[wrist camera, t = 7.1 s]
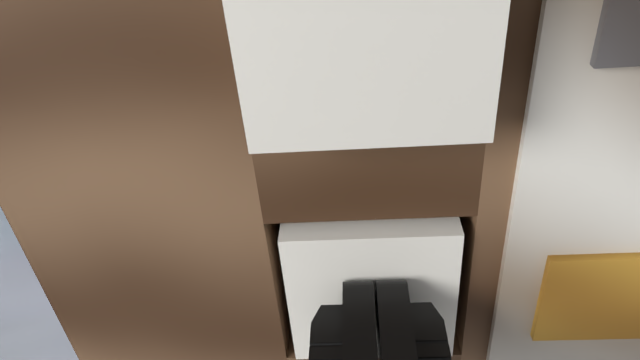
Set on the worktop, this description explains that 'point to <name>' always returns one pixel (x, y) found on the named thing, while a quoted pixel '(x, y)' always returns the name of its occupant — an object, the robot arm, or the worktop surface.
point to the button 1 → (369, 265)
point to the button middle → (366, 72)
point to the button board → (311, 185)
